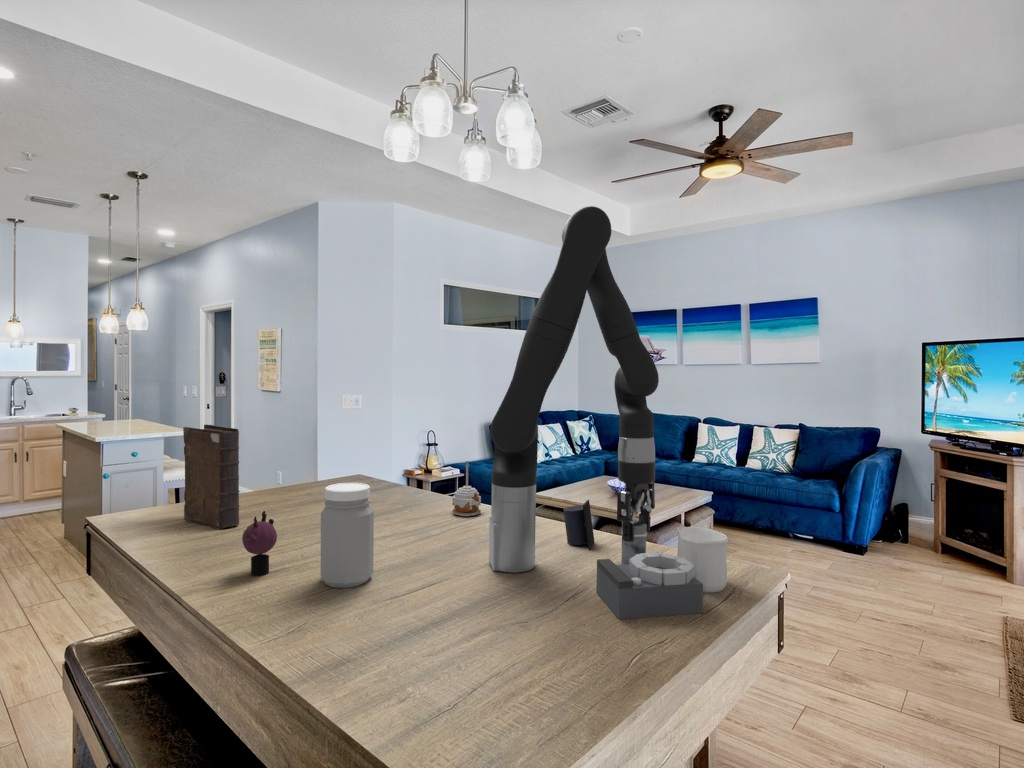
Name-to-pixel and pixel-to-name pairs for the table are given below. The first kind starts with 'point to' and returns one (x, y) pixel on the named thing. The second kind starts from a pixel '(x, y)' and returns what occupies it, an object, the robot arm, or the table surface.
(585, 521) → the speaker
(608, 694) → the table surface
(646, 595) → the camera body
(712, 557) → the cup
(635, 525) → the lens
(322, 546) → the jar
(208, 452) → the book
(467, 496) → the decorative ornament
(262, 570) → the figurine
